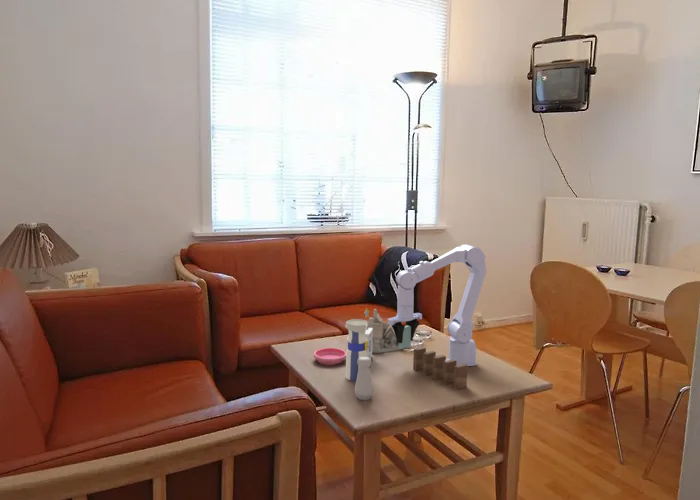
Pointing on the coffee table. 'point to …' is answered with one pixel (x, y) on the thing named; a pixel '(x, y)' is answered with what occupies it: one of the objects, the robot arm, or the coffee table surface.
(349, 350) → the water bottle
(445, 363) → the domino
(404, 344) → the domino
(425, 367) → the domino
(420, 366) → the domino
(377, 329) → the ceramic cottage
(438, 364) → the domino
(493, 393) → the coffee table surface
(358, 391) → the salt shaker
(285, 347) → the coffee table surface
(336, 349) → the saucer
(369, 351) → the ink box
